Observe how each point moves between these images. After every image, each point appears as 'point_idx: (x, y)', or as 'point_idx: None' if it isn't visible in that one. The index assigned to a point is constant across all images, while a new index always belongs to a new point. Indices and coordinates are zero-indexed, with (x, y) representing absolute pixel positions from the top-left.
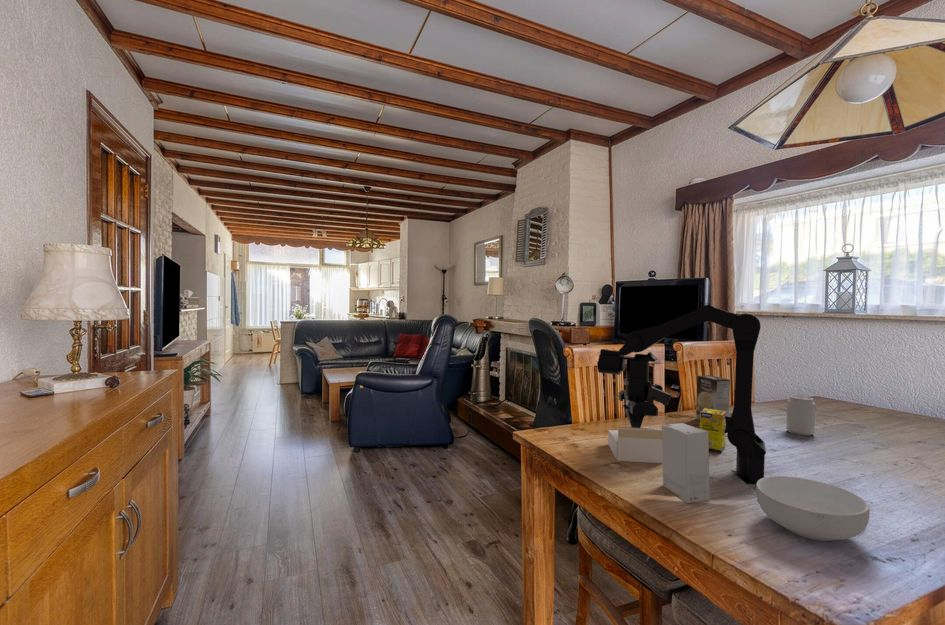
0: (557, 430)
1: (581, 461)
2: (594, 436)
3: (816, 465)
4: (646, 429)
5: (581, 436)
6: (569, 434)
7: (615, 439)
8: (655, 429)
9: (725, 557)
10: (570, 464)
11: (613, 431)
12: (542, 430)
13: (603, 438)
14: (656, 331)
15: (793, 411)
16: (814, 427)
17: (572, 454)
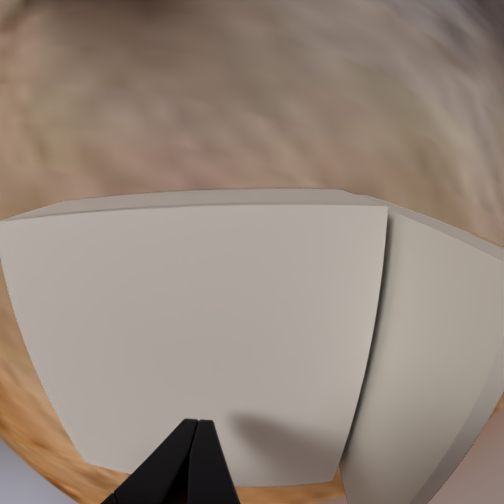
0: (40, 465)
1: (319, 483)
2: (22, 400)
3: None
4: (459, 460)
5: (48, 436)
6: (52, 456)
7: (266, 483)
8: (500, 394)
9: None
10: (344, 494)
11: (101, 455)
12: (65, 490)
13: (23, 380)
14: None
15: None
16: None
17: (253, 496)
